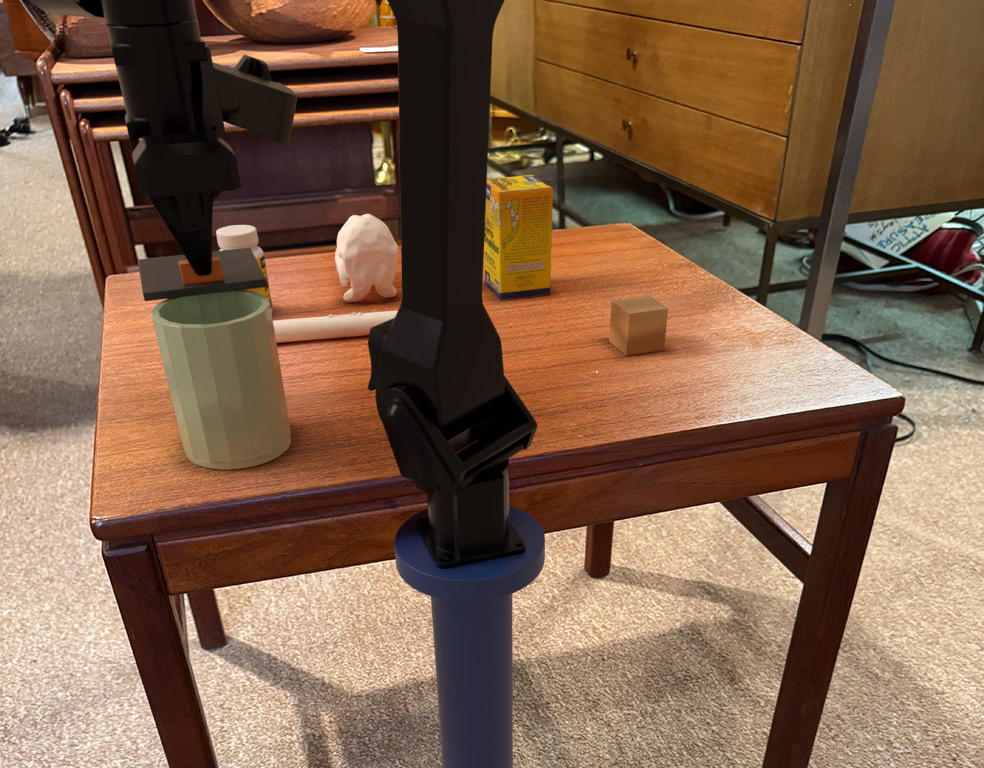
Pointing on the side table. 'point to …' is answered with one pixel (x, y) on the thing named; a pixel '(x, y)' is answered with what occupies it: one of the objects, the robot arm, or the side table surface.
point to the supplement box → (518, 237)
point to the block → (638, 325)
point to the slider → (181, 280)
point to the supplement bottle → (244, 239)
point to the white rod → (329, 326)
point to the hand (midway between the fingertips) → (203, 272)
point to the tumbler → (224, 377)
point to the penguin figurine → (366, 257)
